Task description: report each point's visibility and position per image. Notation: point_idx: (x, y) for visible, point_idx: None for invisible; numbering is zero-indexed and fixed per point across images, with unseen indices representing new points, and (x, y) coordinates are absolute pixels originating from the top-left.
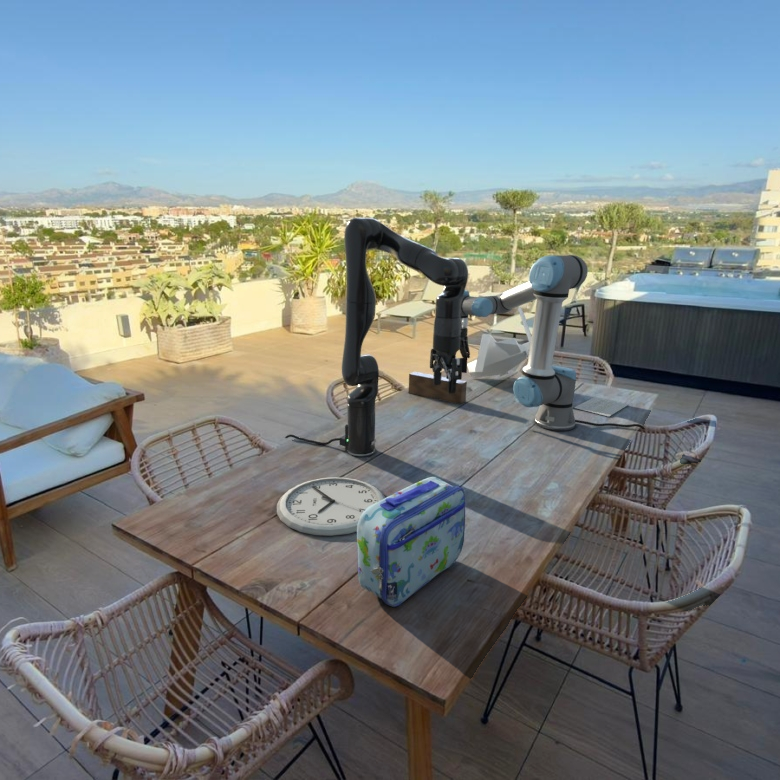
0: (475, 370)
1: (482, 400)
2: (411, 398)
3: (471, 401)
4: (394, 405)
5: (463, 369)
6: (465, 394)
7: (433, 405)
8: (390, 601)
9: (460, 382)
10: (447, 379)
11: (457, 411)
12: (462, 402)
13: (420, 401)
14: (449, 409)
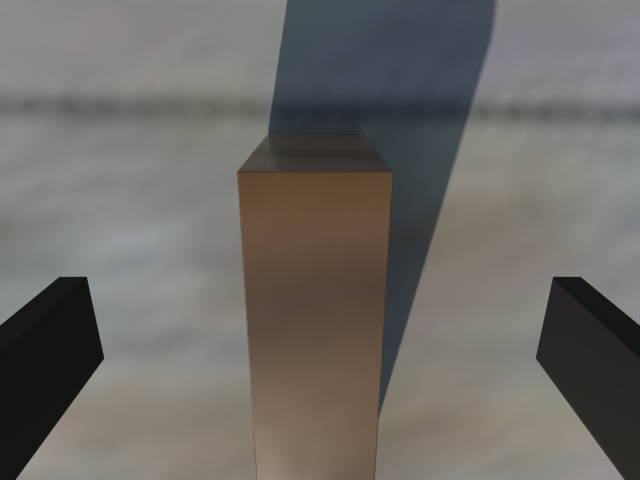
0: None
1: (139, 11)
2: (437, 459)
3: (235, 89)
4: None
5: (69, 347)
6: (273, 143)
7: (503, 291)
8: None
9: (341, 217)
10: (317, 388)
11: (555, 71)
12: (331, 135)
13: (465, 394)
14: (536, 152)
